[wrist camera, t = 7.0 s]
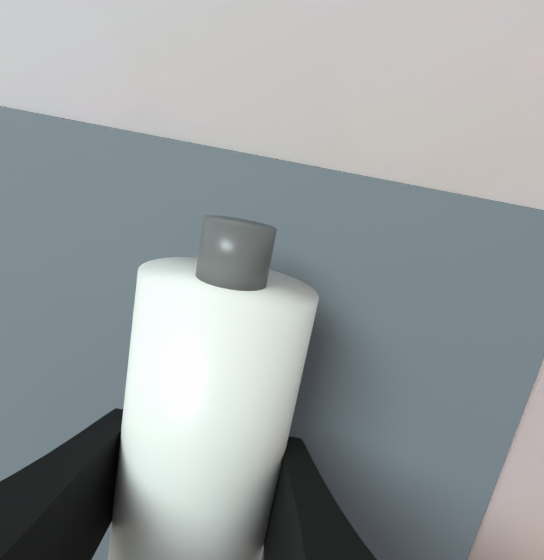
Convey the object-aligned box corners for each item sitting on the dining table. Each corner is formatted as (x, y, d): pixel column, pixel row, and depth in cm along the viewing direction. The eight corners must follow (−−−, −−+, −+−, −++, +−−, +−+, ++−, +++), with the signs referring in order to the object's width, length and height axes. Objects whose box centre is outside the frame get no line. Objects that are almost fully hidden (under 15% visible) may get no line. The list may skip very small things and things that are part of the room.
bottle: (320, 228, 11) (347, 255, 7) (245, 584, 13) (232, 746, 10) (172, 201, 10) (111, 211, 7) (128, 566, 13) (67, 724, 9)
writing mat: (585, 218, 12) (595, 220, 12) (437, 616, 16) (441, 627, 15) (-89, 90, 11) (-101, 87, 11) (-74, 541, 15) (-83, 551, 15)
